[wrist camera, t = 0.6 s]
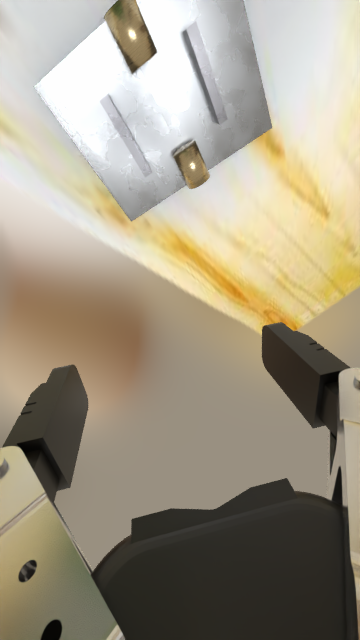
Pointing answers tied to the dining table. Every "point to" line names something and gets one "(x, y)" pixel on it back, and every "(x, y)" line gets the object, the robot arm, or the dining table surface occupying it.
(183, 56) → the metal mounting plate
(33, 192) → the dining table surface
